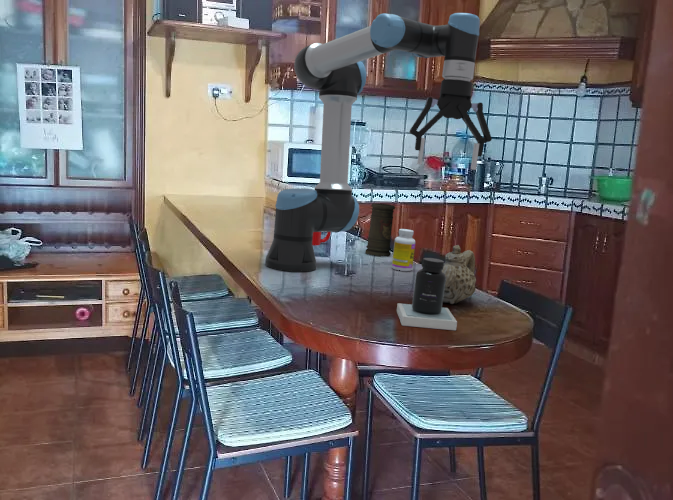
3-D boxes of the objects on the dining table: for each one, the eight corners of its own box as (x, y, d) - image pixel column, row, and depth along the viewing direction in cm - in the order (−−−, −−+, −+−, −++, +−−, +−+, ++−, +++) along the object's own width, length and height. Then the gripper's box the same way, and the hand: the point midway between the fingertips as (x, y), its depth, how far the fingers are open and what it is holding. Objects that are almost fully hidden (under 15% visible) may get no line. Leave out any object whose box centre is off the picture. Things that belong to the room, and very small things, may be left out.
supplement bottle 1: (411, 272, 206) (415, 232, 204) (390, 269, 208) (394, 229, 205) (412, 269, 213) (417, 230, 211) (392, 266, 214) (397, 227, 212)
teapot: (456, 313, 160) (464, 252, 158) (413, 303, 166) (421, 244, 163) (486, 299, 178) (493, 245, 176) (446, 291, 184) (453, 238, 181)
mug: (333, 245, 244) (335, 225, 243) (304, 245, 239) (306, 223, 238) (324, 242, 251) (326, 221, 250) (296, 241, 246) (297, 220, 245)
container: (361, 254, 232) (367, 203, 229) (370, 251, 240) (375, 202, 238) (385, 257, 229) (391, 206, 226) (393, 254, 237) (399, 205, 234)
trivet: (401, 325, 144) (403, 315, 144) (396, 311, 156) (397, 302, 155) (456, 330, 144) (457, 320, 144) (446, 316, 156) (447, 306, 156)
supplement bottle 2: (423, 315, 145) (429, 262, 143) (405, 307, 151) (411, 256, 149) (447, 314, 148) (454, 262, 146) (429, 306, 154) (436, 256, 152)
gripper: (408, 73, 157) (398, 162, 160) (511, 84, 157) (499, 172, 161) (405, 76, 164) (395, 161, 168) (503, 86, 165) (492, 171, 168)
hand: (446, 167), depth 164 cm, fingers open, 13 cm apart
